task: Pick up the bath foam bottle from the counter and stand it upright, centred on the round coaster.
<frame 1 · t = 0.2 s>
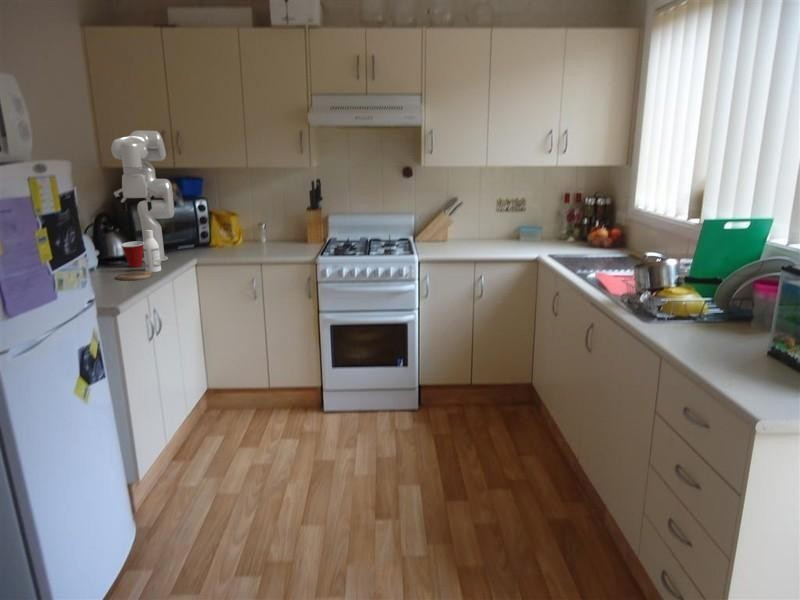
hand: (137, 211, 245), 31 cm above the countertop, tool pointing down, fingers open, 9 cm apart
coaster: (134, 276, 256), on the countertop
bath foam: (153, 271, 268), on the countertop
plastic cup: (135, 266, 278), on the countertop
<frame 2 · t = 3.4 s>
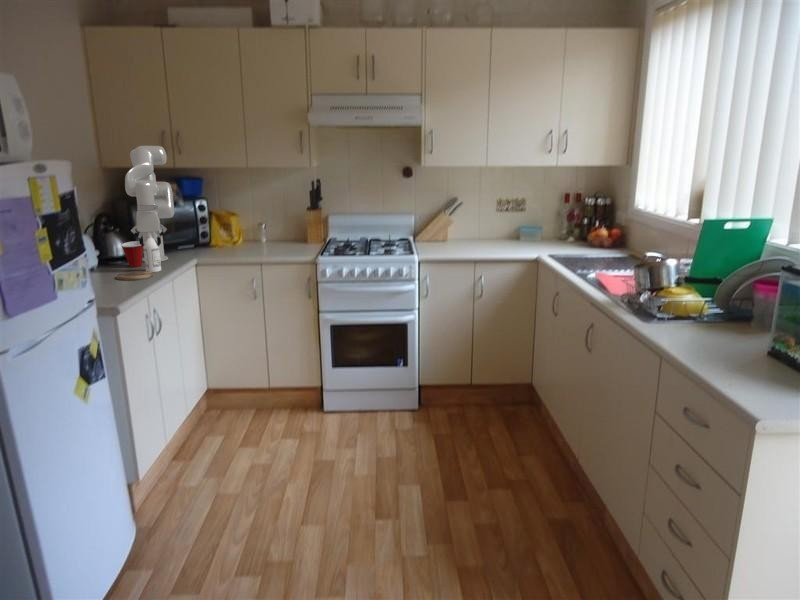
hand: (150, 245, 265), 13 cm above the countertop, tool pointing down, fingers closed on bath foam, 6 cm apart
bath foam: (153, 271, 268), on the countertop, touching gripper
everything else where it was.
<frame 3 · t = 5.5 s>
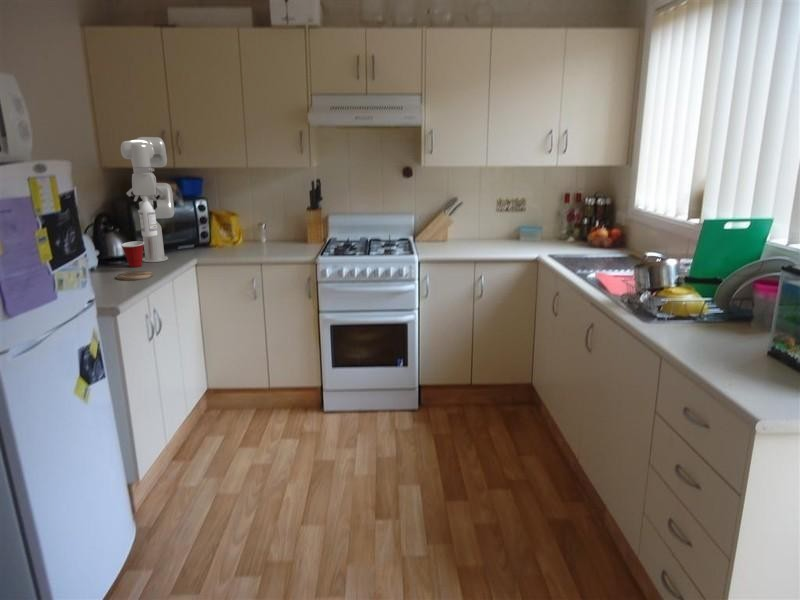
hand: (146, 209, 260), 30 cm above the countertop, tool pointing down, fingers closed on bath foam, 6 cm apart
bath foam: (149, 236, 264), point 17 cm above the countertop, touching gripper
everything else where it was.
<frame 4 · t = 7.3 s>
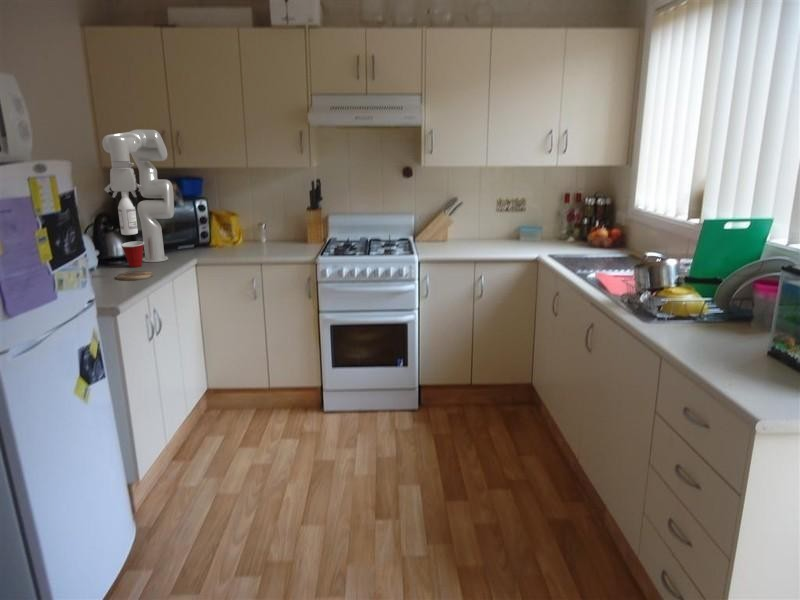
hand: (126, 205, 247), 33 cm above the countertop, tool pointing down, fingers closed on bath foam, 6 cm apart
bath foam: (129, 234, 251), point 20 cm above the countertop, touching gripper
everything else where it was.
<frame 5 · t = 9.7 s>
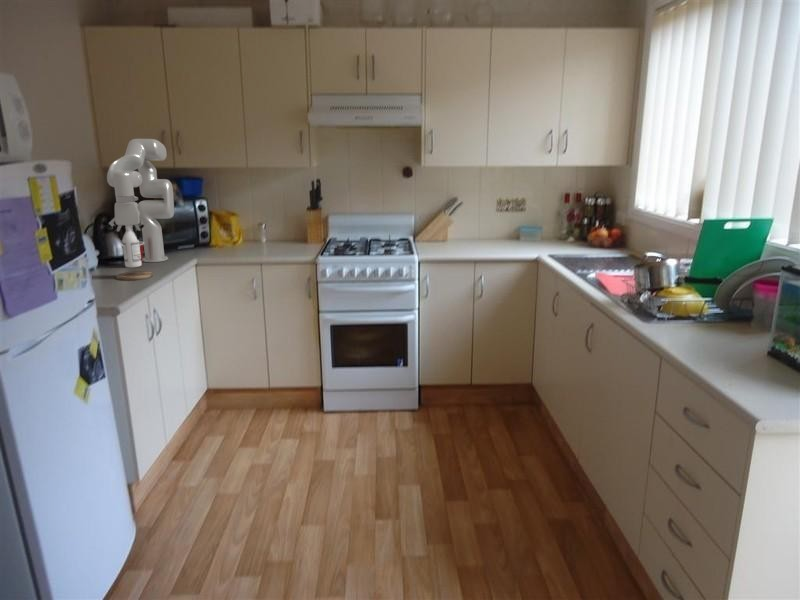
hand: (130, 239, 251), 18 cm above the countertop, tool pointing down, fingers closed on bath foam, 6 cm apart
bath foam: (133, 266, 255), point 5 cm above the countertop, touching gripper
everything else where it was.
when the fingers open (14 cm above the countertop, at t = 11.5 s): bath foam stays where it is, resting on coaster.
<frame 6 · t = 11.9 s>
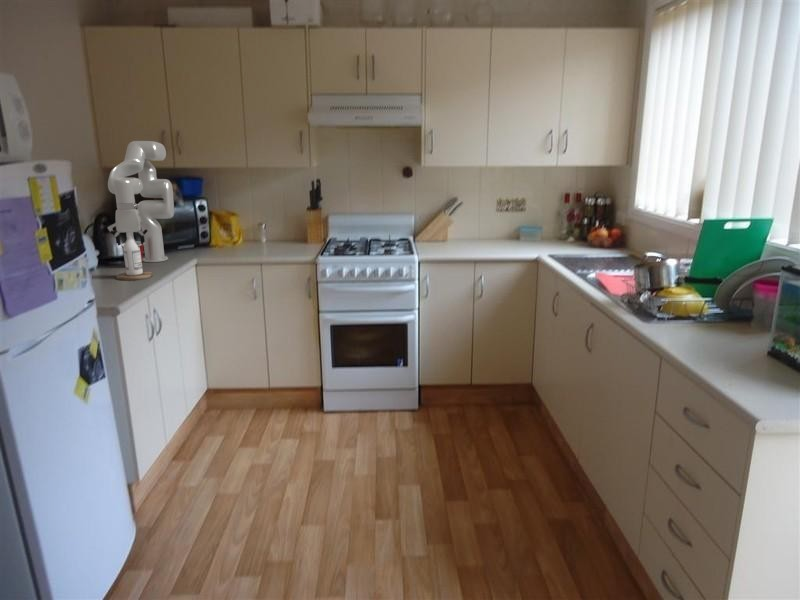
hand: (130, 244, 252), 15 cm above the countertop, tool pointing down, fingers open, 9 cm apart
bath foam: (134, 274, 256), point 1 cm above the countertop, touching coaster
everything else where it was.
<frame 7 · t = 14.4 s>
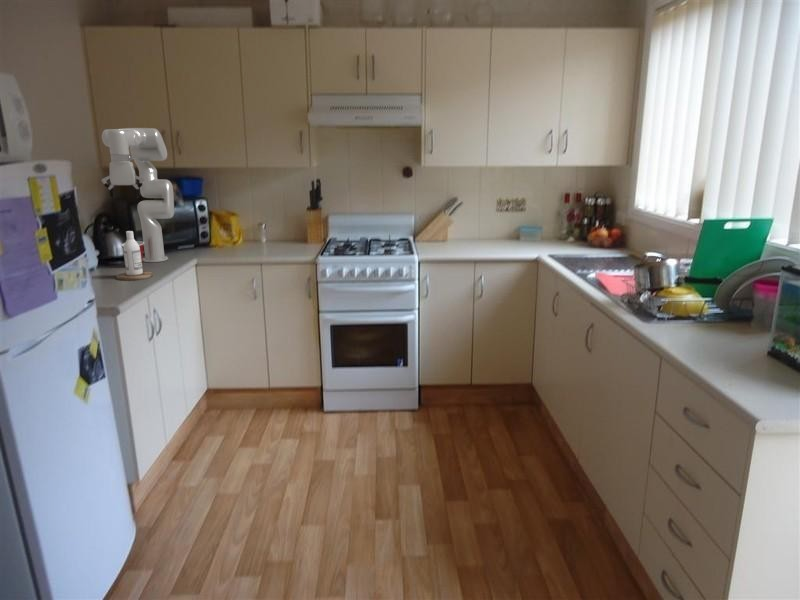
hand: (125, 198, 246), 36 cm above the countertop, tool pointing down, fingers open, 9 cm apart
nothing on the countertop moved.
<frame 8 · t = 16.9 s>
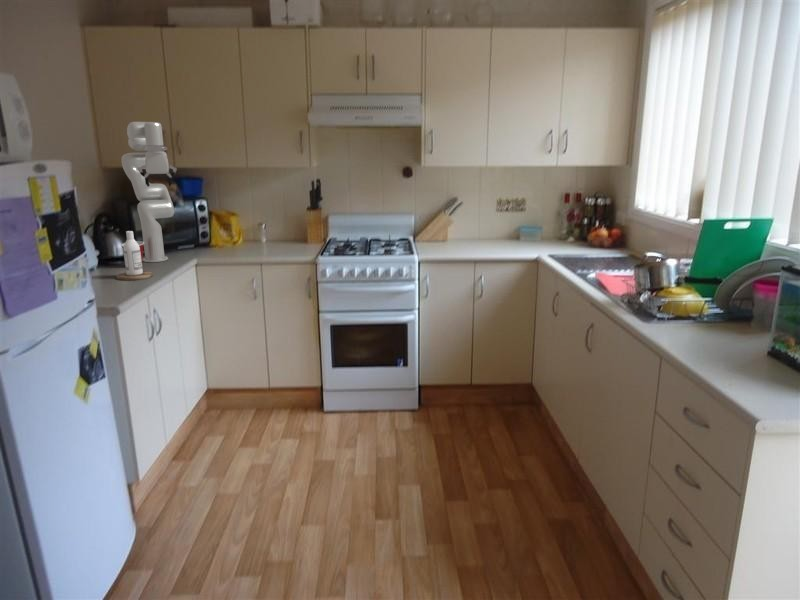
hand: (159, 186, 265), 40 cm above the countertop, tool pointing down, fingers open, 9 cm apart
nothing on the countertop moved.
at the end: bath foam 0.2 cm from the coaster (horizontally); bath foam tilted 0°; bath foam touching coaster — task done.
